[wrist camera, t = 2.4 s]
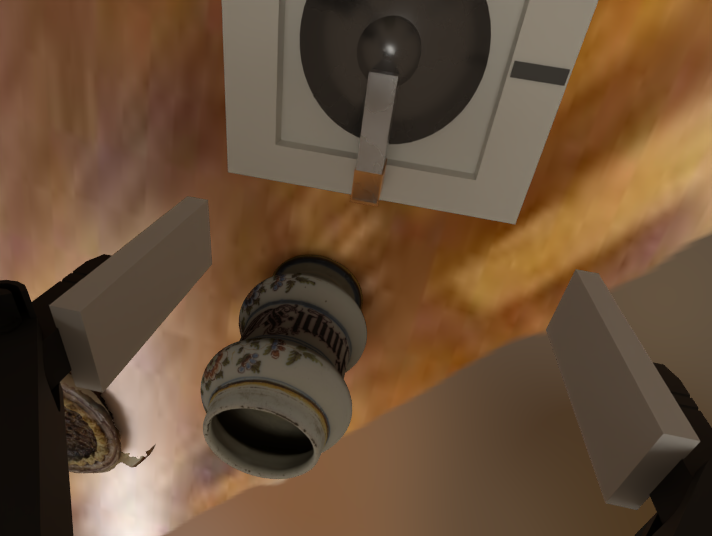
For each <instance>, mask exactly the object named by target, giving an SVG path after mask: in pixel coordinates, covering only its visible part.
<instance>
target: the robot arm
mask: <svg viewBox="0 0 712 536" xmlns="http://www.w3.org/2000/svg"><path fill="white" fill-rule="evenodd" d="M211 265H212V256H211V240H210V224H209V209H208V200H205V199H200V198H195V197H189V196H187V197H186V198H185V199H183V200H182V201H181V202H180V203H178V204H177V205H176V206H175V207H173V208H172V209H171V210H169V211H168V212H167V213H166V214H164V215H163V216H162V217H161V218H159V219H158V220H157V221H155V222H154V223H153V224H152V225H150V226H149V227H148V228H147V229H145V230H144V231H143V232H141V233H140V234H139V235H138V236H136V237H135V238H134V239H133V240H131V241H130V242H129V243H128V244H126V245H125V246H124V247H122V248H121V249H120V250H119V251H117V252H116V253H115V254H114V255H112V256H110V255H105V254H103V255H101V256H98V257H96V258H94V259H91V260H89V261H86V262H85V263H84V264H82V265H81V266H80V267H78V268H77V269H76V270H74V271H73V273H70V274H69V275H67V276H66V277H65V278H63V280H62V282H61V281H59V282H58V283H57V284H55V285H54V286H53V287H51V288H50V289H49V290H47V291H46V292H45V293H43V294H42V295H41V296H39V297H38V298H37V299H35V300H34V301H33V302H31V300H30V297H29V294H28V291H27V289H26V287H25V285H24V284H22V283H20V282H18V281H10V280H1V281H0V536H73V524H72V510H71V496H70V482H69V468H68V454H67V440H66V426H65V412H64V399H63V389H62V386H61V384H60V381H61V380H62V379H63V378H64V377H65V376H66V375H67V374H68V373H69V372H70V371H71V373H72V377H73V380H74V383H75V386H76V387H80V388H84V389H89V390H93V391H98V392H104V391H105V390H106V388H107V387H108V386H109V385H110V384H111V383H112V381H113V380H114V379H115V378H116V377H117V376H118V374H119V373H120V372H121V371H122V370H123V368H124V367H125V366H126V365H127V364H128V363H129V361H130V360H131V359H132V358H133V357H134V355H135V354H136V353H137V352H138V351H139V350H140V348H141V347H142V346H143V345H144V344H145V342H146V341H147V340H148V339H149V338H150V337H151V335H152V334H153V333H154V332H155V331H156V330H157V328H158V327H159V326H160V325H161V324H162V322H163V321H164V320H165V319H166V318H167V317H168V315H169V314H170V313H171V312H172V311H173V309H174V308H175V307H176V306H177V305H178V304H179V302H180V301H181V300H182V299H183V298H184V296H185V295H186V294H187V293H188V292H189V291H190V289H191V288H192V287H193V286H194V285H195V283H196V282H197V281H198V280H199V279H200V278H201V276H202V275H203V274H204V273H205V272H206V271H207V269H208V268H209V267H210V266H211ZM546 331H547V334H548V337H549V340H550V343H551V346H552V348H553V352H554V355H555V357H556V360H557V363H558V366H559V369H560V372H561V375H562V378H563V381H564V383H565V386H566V389H567V392H568V395H569V398H570V401H571V404H572V407H573V410H574V413H575V416H576V418H577V421H578V424H579V427H580V430H581V433H582V436H583V439H584V442H585V444H586V447H587V450H588V453H589V456H590V459H591V462H592V465H593V468H594V471H595V474H596V477H597V479H598V482H599V485H600V488H601V491H602V493H603V497H604V500H605V503H608V504H612V505H617V506H622V507H626V508H630V509H635V510H638V508H640V506H641V505H642V504H643V503H644V502H645V501H646V500H647V499H648V498H649V497H651V499H652V502H653V504H654V506H655V508H656V511H657V513H656V514H655V515H654V516H653V517H652V518H651V519H650V520H649V521H648V522H647V523H646V524H645V525H644V526H643V527H642V528H641V529H640V530H639V531H638V532H637V533H636V534H635V536H712V428H711V426H710V425H709V423H708V422H707V420H706V419H705V417H704V416H703V414H702V413H701V411H698V406H697V405H696V404H695V402H694V400H693V399H692V398H690V394H689V393H688V391H687V390H686V388H685V387H684V385H683V384H682V382H681V380H680V379H679V378H678V377H677V376H675V375H674V374H673V373H672V372H671V371H670V370H669V369H668V368H667V367H666V366H665V365H663V364H658V363H653V362H652V361H651V359H650V358H649V356H648V354H647V353H646V351H645V349H644V348H643V346H642V344H641V343H640V341H639V339H638V338H637V336H636V334H635V333H634V331H633V329H632V328H631V327H630V325H629V323H628V321H627V320H626V318H625V317H624V315H623V313H622V311H621V310H620V308H619V307H618V305H617V303H616V302H615V300H614V298H613V297H612V295H611V293H610V292H609V290H608V288H607V287H606V285H605V284H604V282H603V280H602V279H601V277H600V275H599V274H598V273H593V272H587V271H582V270H577V269H576V270H575V272H574V274H573V276H572V278H571V280H570V282H569V284H568V286H567V288H566V290H565V292H564V294H563V296H562V299H561V301H560V303H559V305H558V307H557V309H556V311H555V313H554V315H553V317H552V319H551V321H550V323H549V325H548V327H547V329H546Z"/></svg>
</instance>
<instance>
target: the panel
mask: <svg viewBox="0 0 712 536" xmlns="http://www.w3.org/2000/svg"><path fill="white" fill-rule="evenodd" d="M486 1H487V4H488V8H489V15H490V21H491V42H490V52H489V57H488V61H487V66H486V69H485V72H484V75H483V78H482V80H481V82H480V84H479V86H478V88H477V90H476V92H475V94H474V95H473V97H472V99H471V100H470V102H469V103H468V104H467V106H466V107H465V108H464V109H463V111H462V112H461V113H460V114H459V115H458V116H457V117H456V118H455V119H454V120H453V121H452V122H450V123H449V124H448V125H446V126H445V127H444V128H442V129H441V130H439V131H437V132H436V133H434V134H432V135H430V136H428V137H425V138H423V139H420V140H417V141H414V142H410V143H403V144H389V145H388V151H387V157H386V159H387V165H386V171H385V176H384V182H383V188H382V192H381V196H380V199H379V200H384V201H390V202H395V203H401V204H406V205H412V206H417V207H423V208H428V209H434V210H439V211H445V212H450V213H456V214H461V215H467V216H472V217H478V218H483V219H489V220H494V221H500V222H505V223H511V224H515V223H516V220H517V218H518V215H519V212H520V210H521V207H522V204H523V202H524V199H525V196H526V193H527V191H528V188H529V185H530V183H531V180H532V177H533V175H534V172H535V169H536V167H537V164H538V161H539V159H540V156H541V153H542V150H543V148H544V145H545V142H546V140H547V137H548V134H549V132H550V129H551V126H552V124H553V121H554V118H555V115H556V113H557V110H558V107H559V105H560V102H561V99H562V97H563V94H564V91H565V89H566V86H567V83H568V80H569V78H570V75H571V72H572V70H573V67H574V64H575V62H576V59H577V56H578V54H579V51H580V48H581V46H582V43H583V40H584V37H585V35H586V32H587V29H588V27H589V24H590V21H591V19H592V16H593V13H594V11H595V8H596V5H597V2H598V0H486ZM305 3H306V0H222V21H223V48H224V75H225V103H226V130H227V157H228V172H230V173H236V174H241V175H247V176H252V177H258V178H263V179H269V180H274V181H280V182H285V183H291V184H296V185H302V186H307V187H313V188H318V189H324V190H329V191H335V192H340V193H346V194H351V193H352V185H353V177H354V170H355V168H356V166H357V158H358V151H359V143H360V138H359V137H356V136H354V135H352V134H351V133H349V132H347V131H345V130H344V129H343V128H341V127H340V126H338V125H337V124H336V123H335V122H334V121H333V120H332V119H331V118H329V117H328V115H327V114H326V113H325V112H324V111H323V109H322V108H321V107H320V105H319V104H318V102H317V101H316V99H315V98H314V96H313V94H312V92H311V90H310V88H309V86H308V83H307V80H306V77H305V75H304V71H303V67H302V62H301V55H300V26H301V19H302V14H303V10H304V6H305Z"/></svg>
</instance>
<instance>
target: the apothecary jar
mask: <svg viewBox="0 0 712 536" xmlns="http://www.w3.org/2000/svg"><path fill="white" fill-rule="evenodd" d="M362 301H363V300H362V292H361V288H360V285H359V283H358V281H357V280H356V278H355V277H354V276H353V274H352V273H351V272H350V271H349V270H348V269H347V268H345V267H344V266H343V265H341V264H340V263H338V262H336V261H334V260H332V259H329V258H326V257H323V256H318V255H302V256H297V257H294V258H292V259H289V260H287V261H286V262H284V263H283V264H281V265H280V266H279V267H278V268H277V269H276V271H275V272H274V274H273V276H272V277H270V278H268V279H266V280H264V281H262V282H261V283H259V284H258V285H257V286H256V287H254V288H253V289H252V291H251V292H250V293H249V294H248V295H247V297H246V299H245V300H244V302H243V304H242V307H241V310H240V315H239V328H240V334H241V339H240V341H239V342H236V343H233V344H231V345H228V346H227V347H225V348H223V349H222V350H221V351H219V352H218V353H217V354H216V355H215V356H214V357H213V358H212V359H211V361H210V362H209V364H208V365H207V367H206V369H205V371H204V374H203V377H202V381H201V398H202V403H203V406H204V409H205V411H206V413H207V414H206V417H205V419H204V423H203V433H204V437H205V440H206V442H207V444H208V445H209V447H210V448H211V450H212V451H213V452H214V453H215V454H216V455H217V456H218V457H219V458H220V459H221V460H222V461H224V462H225V463H227V464H228V465H230V466H232V467H234V468H235V469H238V470H240V471H242V472H245V473H247V474H250V475H254V476H257V477H262V478H269V479H286V478H292V477H296V476H299V475H302V474H304V473H306V472H307V471H309V470H310V469H312V468H313V467H314V466H315V465H316V463H317V461H318V459H319V457H320V455H321V453H322V452H324V451H326V450H328V449H329V448H331V447H332V446H333V445H334V444H335V443H337V442H338V441H339V440H340V438H341V437H342V436H343V435H344V433H345V432H346V430H347V428H348V426H349V423H350V420H351V416H352V400H351V396H350V393H349V390H348V387H347V385H346V383H345V381H344V375H345V372H347V371H348V370H350V369H351V368H352V367H353V366H354V365H355V364H356V363H357V361H358V360H359V359H360V357H361V355H362V353H363V351H364V348H365V345H366V340H367V329H366V323H365V319H364V316H363V314H362V312H361V309H362Z"/></svg>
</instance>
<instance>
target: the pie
mask: <svg viewBox="0 0 712 536" xmlns="http://www.w3.org/2000/svg"><path fill="white" fill-rule="evenodd" d="M60 384H61V386H62V389H63V399H64V412H65V426H66V440H67V454H68V468H69V471H70V472H74V473H102V472H108V471H110V470H111V469H113V468H115V466H116V465H117V464H119V463H120V462H123V463H124V464H126V465H128V466H129V467H136V466H137V465H138V464H140V463H141V462H142V461H143V460H144V459H145V458H146V457H148V456H149V455H150V453H151V452H152V450H153V449H154V446H155V445H154V446H153V447H152V448H151V449H150V450H148V451H146V454H147V456H146V457H143V456H141V457H140V459H137V458H136V457H129V456H128V455H129V454H130V453H126V454H125V453H123V452H121V443H120V438H121V436H120V433H119V431H118V429H117V428H116V427H115V425H114V422H113V421H112V420H113V417H112V413H111V412H110V411H109V410H108V408H107V406H106V404H105V400H104V399H103V398H102V397H101V396H100V394H101V392H98V391H93V390H89V389H84V388H80V387H76V386H75V383H74V380H73V377H72V374H71V373H70V372H69V373H68V374H67V375H66V376H65V377H64V378H63V379H62V380H61V381H60Z"/></svg>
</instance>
